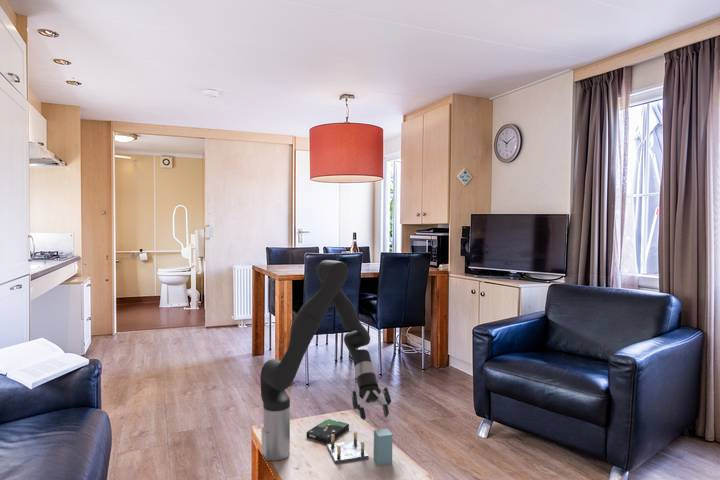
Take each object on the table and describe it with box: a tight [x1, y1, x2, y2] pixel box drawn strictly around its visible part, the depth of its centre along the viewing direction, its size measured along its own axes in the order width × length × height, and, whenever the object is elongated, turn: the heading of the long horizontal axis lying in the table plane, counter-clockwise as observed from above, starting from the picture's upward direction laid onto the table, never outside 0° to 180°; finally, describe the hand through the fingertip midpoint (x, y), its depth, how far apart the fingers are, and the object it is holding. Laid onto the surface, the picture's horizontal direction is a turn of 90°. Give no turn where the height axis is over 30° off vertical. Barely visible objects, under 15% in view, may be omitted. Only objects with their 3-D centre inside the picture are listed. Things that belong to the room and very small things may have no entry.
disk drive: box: [306, 418, 350, 445], centre depth 178 cm, size 10×3×15 cm
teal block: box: [373, 428, 394, 466], centre depth 157 cm, size 5×5×10 cm
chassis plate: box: [326, 431, 370, 464], centre depth 163 cm, size 12×12×5 cm
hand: (375, 417), depth 165 cm, fingers open, 8 cm apart
